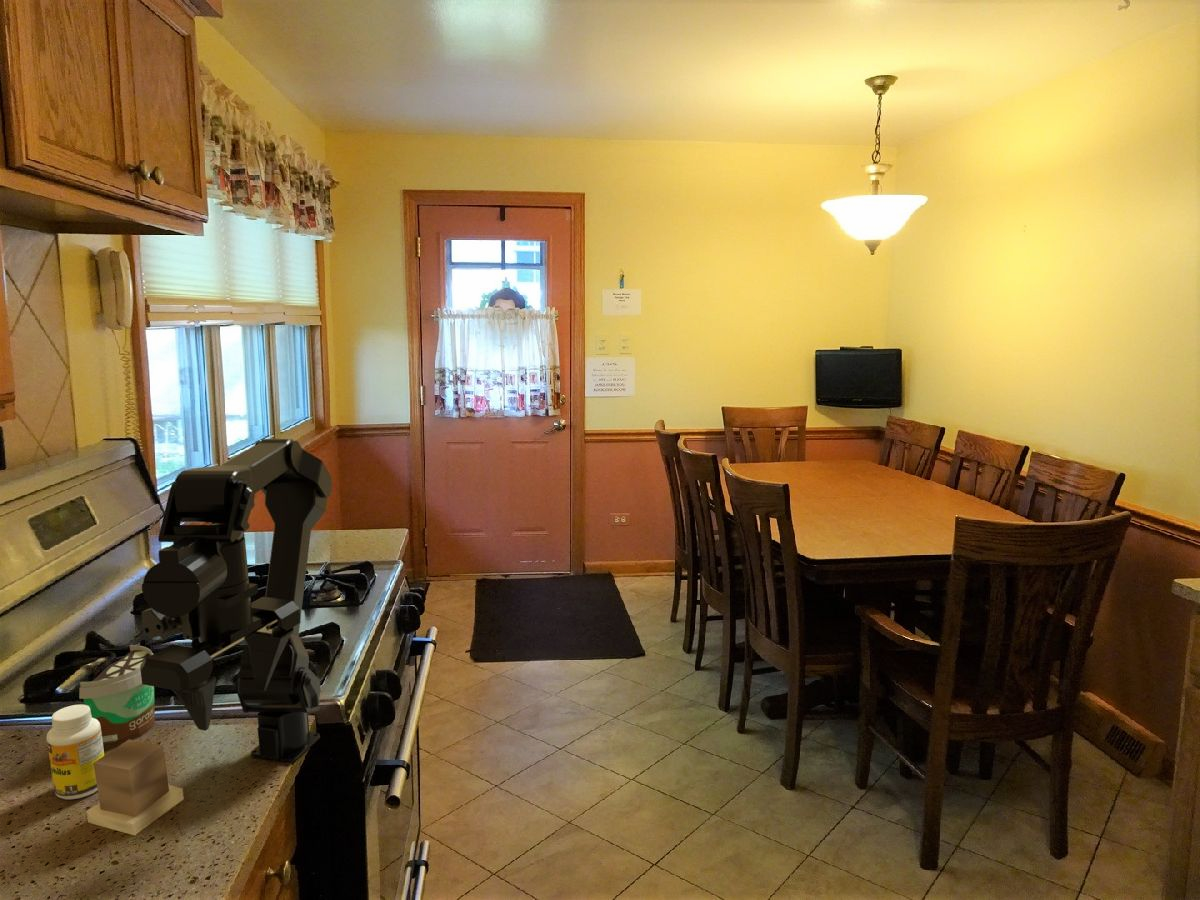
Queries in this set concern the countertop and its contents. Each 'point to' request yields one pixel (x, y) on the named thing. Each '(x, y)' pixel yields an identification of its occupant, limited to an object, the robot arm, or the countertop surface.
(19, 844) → the countertop surface
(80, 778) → the supplement bottle
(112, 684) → the food container
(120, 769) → the walnut cube
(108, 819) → the birch block
